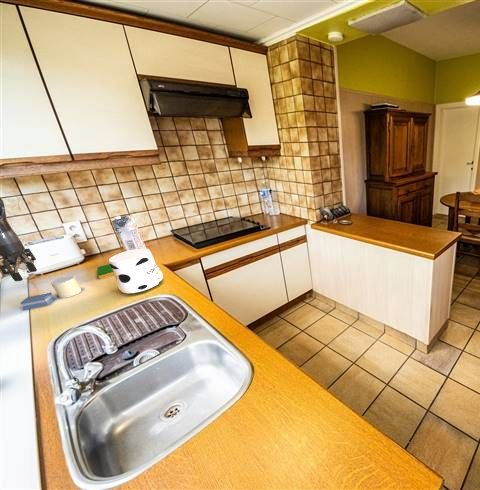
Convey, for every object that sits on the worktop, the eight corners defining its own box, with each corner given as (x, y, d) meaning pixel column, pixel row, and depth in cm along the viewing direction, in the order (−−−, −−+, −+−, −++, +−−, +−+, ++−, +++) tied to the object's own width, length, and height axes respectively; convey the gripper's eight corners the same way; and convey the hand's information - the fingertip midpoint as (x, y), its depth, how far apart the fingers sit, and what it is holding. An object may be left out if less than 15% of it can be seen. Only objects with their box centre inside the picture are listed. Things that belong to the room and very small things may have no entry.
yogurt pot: (55, 300, 125) (46, 285, 122) (65, 291, 132) (57, 277, 128) (76, 295, 127) (68, 281, 124) (85, 287, 134) (77, 274, 131)
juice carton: (149, 251, 173) (132, 212, 163) (145, 257, 165) (128, 216, 154) (132, 255, 170) (114, 215, 159) (128, 261, 161) (108, 219, 150)
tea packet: (24, 310, 118) (19, 302, 117) (33, 304, 123) (28, 296, 121) (48, 305, 121) (43, 298, 119) (55, 299, 125) (51, 292, 124)
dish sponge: (99, 279, 142) (97, 275, 141) (99, 270, 151) (97, 267, 150) (116, 274, 147) (114, 270, 146) (115, 266, 156) (113, 262, 155)
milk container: (171, 283, 134) (158, 251, 127) (129, 301, 121) (112, 266, 114) (157, 275, 143) (144, 244, 136) (116, 290, 130) (99, 258, 123)
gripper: (6, 237, 114) (27, 270, 120) (-24, 250, 101) (1, 286, 108) (30, 234, 116) (49, 267, 123) (3, 246, 104) (26, 282, 110)
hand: (26, 276), depth 115 cm, fingers open, 8 cm apart
